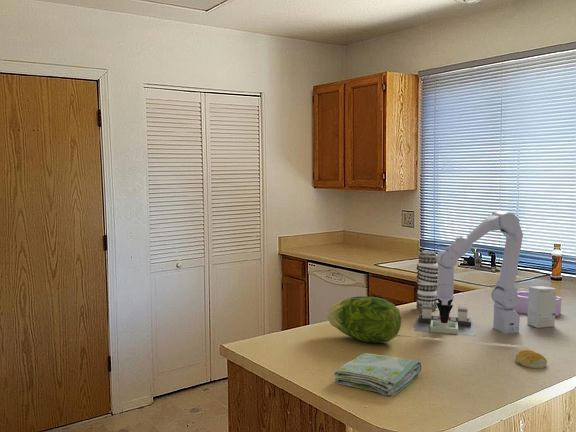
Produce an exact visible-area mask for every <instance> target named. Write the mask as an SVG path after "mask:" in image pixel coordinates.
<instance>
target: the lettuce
mask: <svg viewBox="0 0 576 432" xmlns="http://www.w3.org/2000/svg"><path fill="white" fill-rule="evenodd" d="M326 319H327V321H328V322H329V323H330V325H331V326H332V327H333V328H336V329H337V330H338V331H340V332H341V333H343V334H344V335H346V336H347V337H350V338H353V339H354V340H355V339H356V340H358V341H361V342H364V343H371V344H372V343H389V342H390V341H391V340H393V339H395V338H396V337H397V335H398V334H399V331H400V329H401V326H402V316H401V311H400V308H398V307H397V306H396V305H395V304H394V303H393V302H391V301H390V300H388V299H385V298H381V297H376V296H375V297H374V296H365V295H364V296H363V295H362V296H360V295H358V296H351V297H348V298H345V299H344V300H342V301H339V302H337V303H334V304H333V305H331V306H330V307H329V308H328V309H327V312H326Z"/></svg>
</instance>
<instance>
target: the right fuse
mask: <svg viewBox="0 0 576 432" xmlns="http://www.w3.org/2000/svg"><path fill="white" fill-rule="evenodd" d="M457 317H458V321H467V318H468V307H466V306H457Z"/></svg>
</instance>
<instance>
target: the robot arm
mask: <svg viewBox="0 0 576 432" xmlns="http://www.w3.org/2000/svg"><path fill="white" fill-rule="evenodd" d="M520 222H521V221H520V219H519V217H518V216H517V215H516V214H515V213H513V212H508V211H507V212H505V211H503V210H502V211H501V210H496V211H493V212H492V213H491V214H489V215H488V216H486V217H485V219H484V220H483V221H482V222H481V223H480V224H479V225H477V226H476V227H475V228H474V229H473V230H472V231H471V232H469V233H468V234H467V235H466V236H460V237H456V238H455V239H454V241H453V243H451V244H449V246H446V247H445V248H444V250H443V249H442V250H440V251H439V252H438V253H436V255H437V256H436V257H435V259H436V262H437V268H438V271H437V272H438V274H437V275H436V276H437V279H436V280H437V285H436V290H437V294H434V297H436V298H437V301H438V302H437V305H436V306H437V310H438V311H439V313H440V319H441V323H447V322H448V318H449V317H450V313H451V311H452V308H453V307H454V305H453V304H452V303H453V300H454V297H455V296H454V284H455V282H454V281H455V280H454V279H455V278H454V277H455V266H456V265H457V263H458V260H459V259H460V258H462V257H463V256H464V255H465V254H467V253H468V252H469V251H471V250H472V247H473V244H474V243H475V242H477V241H478V240H479V239H481V238H482V237H484V236H485V235H487V234H488V233H489V232H491V231H500V233H502V234H503V236H504V237H505V244H504V249H503V256H502V261H501V262H502V263H501V268H500V269H501V270H500V275H499V279H498V280H497V281H496V282H495V284H494V285H495V286H494V287H493V290H492V291H491V295H490V296H491V299H492V301H493V302H494V303H493V323H492V324H493V325H492V329H494V330H496V331H499V332H501V333H502V334H516V333H517V334H518V333H519V334H520V321H521V319H520V318H521V317H520V314H519V312H516V311H515V306H516V305H517V304H518V301H519V299H518V295H517V291H519V289H518V287H517V284H516V278H517V273H518V266H519V261H520V255H521V254H520V253H521V249H522V244H523V243H522V242H523V237H524V234H523V230H522V228H521V224H520Z"/></svg>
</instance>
